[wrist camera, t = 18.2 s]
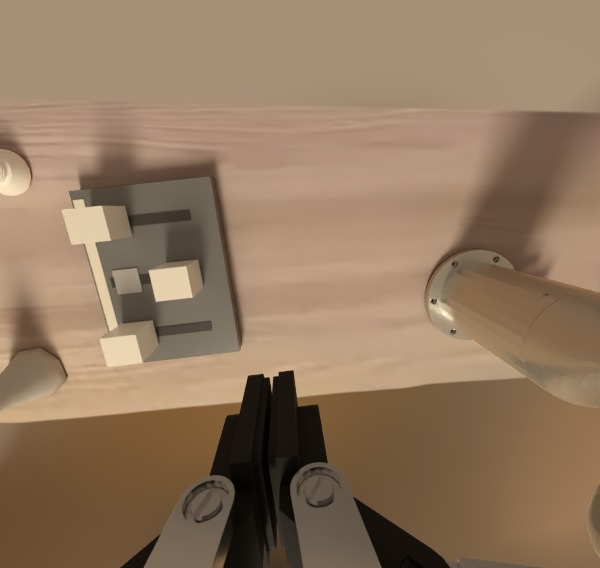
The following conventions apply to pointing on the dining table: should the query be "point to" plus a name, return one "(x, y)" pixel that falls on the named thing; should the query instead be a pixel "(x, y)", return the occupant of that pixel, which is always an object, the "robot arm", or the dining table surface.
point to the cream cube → (129, 343)
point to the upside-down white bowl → (13, 173)
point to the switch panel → (164, 249)
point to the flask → (30, 378)
